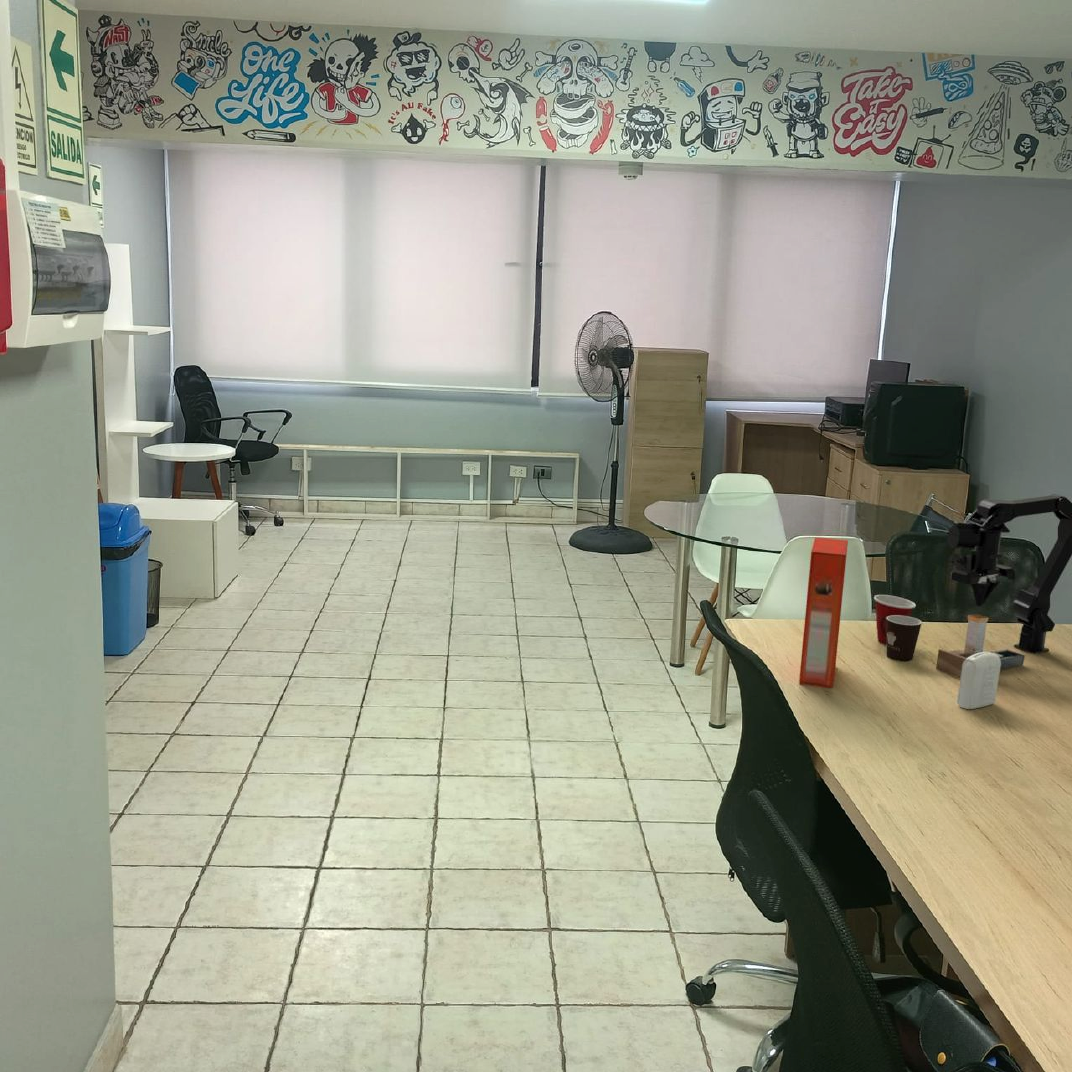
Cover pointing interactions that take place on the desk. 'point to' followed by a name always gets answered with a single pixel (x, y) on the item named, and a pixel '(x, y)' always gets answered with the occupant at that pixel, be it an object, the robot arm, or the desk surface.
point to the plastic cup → (890, 611)
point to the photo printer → (979, 680)
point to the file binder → (823, 612)
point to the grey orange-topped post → (976, 635)
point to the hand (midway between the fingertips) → (978, 605)
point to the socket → (950, 661)
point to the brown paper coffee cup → (901, 636)
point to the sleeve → (1010, 659)
